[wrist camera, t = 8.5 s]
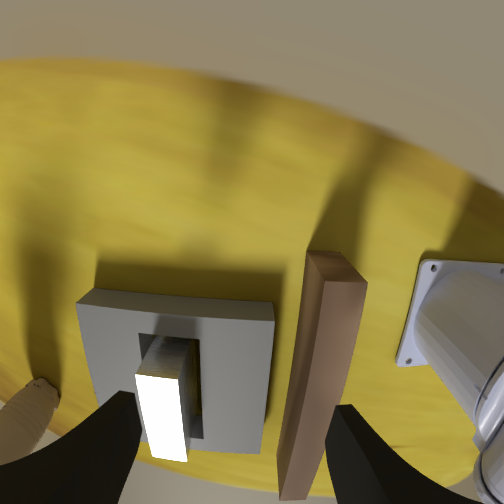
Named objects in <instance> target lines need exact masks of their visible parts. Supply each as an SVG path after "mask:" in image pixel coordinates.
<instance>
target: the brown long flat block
mask: <svg viewBox="0 0 504 504" xmlns="http://www.w3.org/2000/svg"><path fill="white" fill-rule="evenodd" d="M367 285H368V282H367V281H366V280H365V279H364V278H363V277H362V276H361V275H360V274H359V273H358V272H357V270H356V269H355V268H354V267H353V266H352V265H351V264H350V263H349V262H348V261H347V260H346V259H345V258H344V256H343V255H342V254H341V253H340V252H324V251H307V250H306V259H305V268H304V277H303V286H302V294H301V302H300V310H299V318H298V325H297V333H296V340H295V347H294V354H293V361H292V367H291V374H290V380H289V387H288V393H287V399H286V405H285V411H284V417H283V422H282V428H281V433H280V439H279V444H278V449H277V455H276V456H277V470H278V485H279V500H280V501H287V500H305V499H306V498H307V495H308V493H309V490H310V488H311V485H312V483H313V480H314V478H315V475H316V472H317V470H318V467H319V464H320V461H321V459H322V456H323V453H324V450H325V438H326V435H327V432H328V429H329V425H330V422H331V419H332V416H333V412H334V409H335V405H339V403H340V400H341V396H342V393H343V389H344V386H345V382H346V379H347V375H348V371H349V367H350V363H351V359H352V355H353V351H354V347H355V343H356V338H357V334H358V330H359V325H360V320H361V316H362V311H363V306H364V301H365V296H366V290H367Z"/></svg>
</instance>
